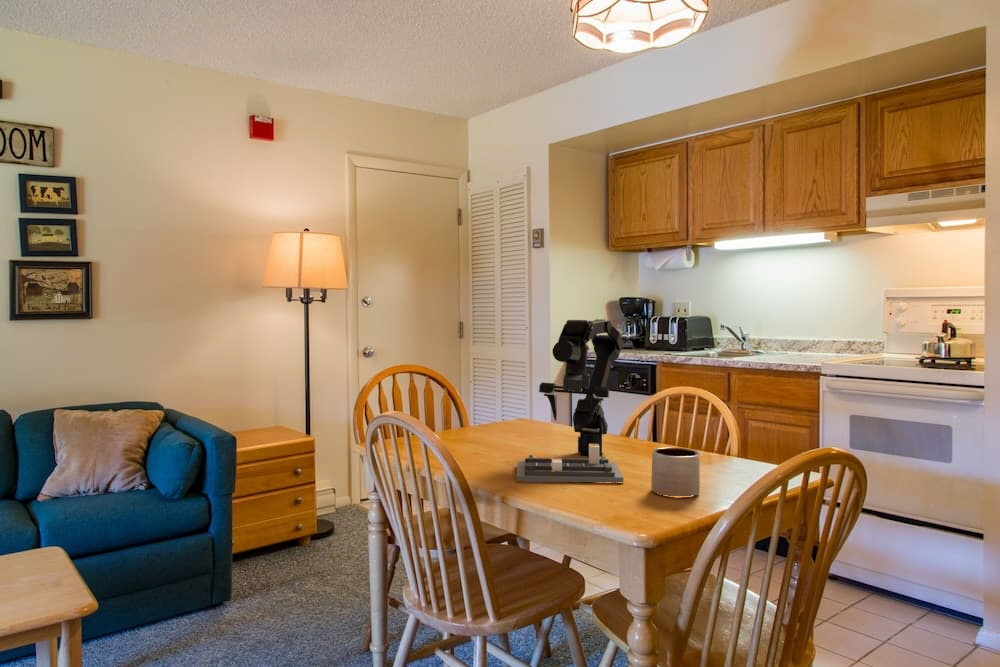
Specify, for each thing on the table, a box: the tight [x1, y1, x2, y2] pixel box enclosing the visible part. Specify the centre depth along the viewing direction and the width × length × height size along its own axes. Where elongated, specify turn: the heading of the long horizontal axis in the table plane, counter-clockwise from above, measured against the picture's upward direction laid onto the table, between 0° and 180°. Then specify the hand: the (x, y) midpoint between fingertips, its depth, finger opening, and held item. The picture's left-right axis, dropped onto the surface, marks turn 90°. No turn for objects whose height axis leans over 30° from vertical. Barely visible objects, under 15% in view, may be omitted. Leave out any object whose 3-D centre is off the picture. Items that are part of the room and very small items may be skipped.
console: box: [516, 454, 624, 484], centre depth 174 cm, size 26×16×4 cm, turn 87°
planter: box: [650, 446, 701, 496], centre depth 157 cm, size 11×11×10 cm
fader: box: [588, 444, 600, 464], centre depth 177 cm, size 2×4×5 cm, turn 177°
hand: (572, 422), depth 185 cm, fingers open, 9 cm apart
